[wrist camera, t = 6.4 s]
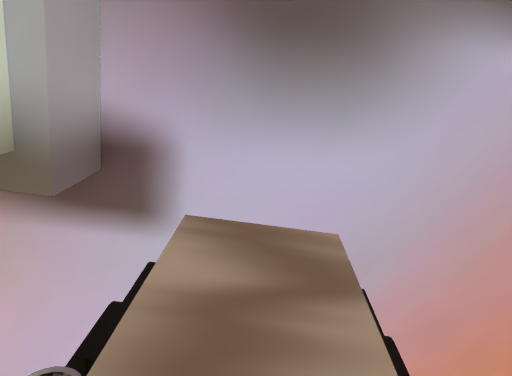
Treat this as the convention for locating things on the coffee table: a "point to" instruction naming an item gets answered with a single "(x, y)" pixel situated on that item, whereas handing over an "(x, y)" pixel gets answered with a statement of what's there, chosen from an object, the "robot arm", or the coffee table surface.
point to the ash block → (247, 308)
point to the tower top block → (4, 93)
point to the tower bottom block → (52, 94)
